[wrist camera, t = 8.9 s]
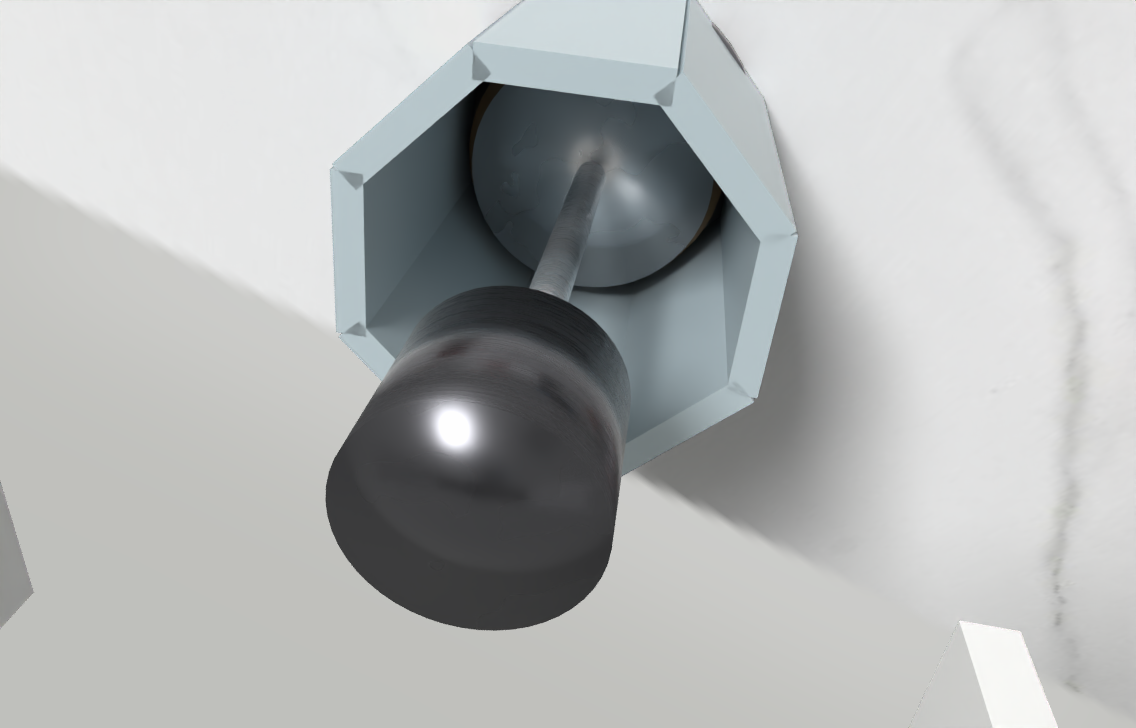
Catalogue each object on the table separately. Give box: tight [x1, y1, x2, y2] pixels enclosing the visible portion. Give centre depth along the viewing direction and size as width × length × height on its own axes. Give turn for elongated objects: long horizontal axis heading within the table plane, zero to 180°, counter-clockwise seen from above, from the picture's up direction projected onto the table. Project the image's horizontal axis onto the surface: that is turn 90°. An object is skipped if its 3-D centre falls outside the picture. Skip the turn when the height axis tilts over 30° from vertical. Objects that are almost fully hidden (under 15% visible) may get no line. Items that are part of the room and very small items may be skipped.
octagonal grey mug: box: [330, 0, 798, 477], centre depth 28 cm, size 14×11×13 cm
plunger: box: [326, 84, 714, 630], centre depth 22 cm, size 8×8×18 cm
